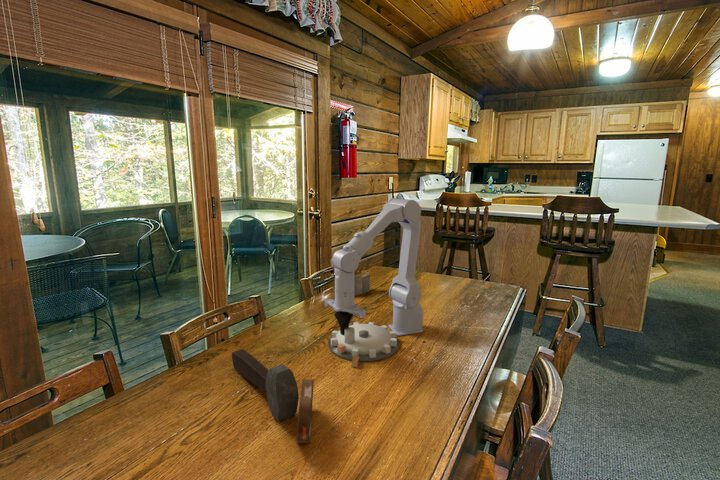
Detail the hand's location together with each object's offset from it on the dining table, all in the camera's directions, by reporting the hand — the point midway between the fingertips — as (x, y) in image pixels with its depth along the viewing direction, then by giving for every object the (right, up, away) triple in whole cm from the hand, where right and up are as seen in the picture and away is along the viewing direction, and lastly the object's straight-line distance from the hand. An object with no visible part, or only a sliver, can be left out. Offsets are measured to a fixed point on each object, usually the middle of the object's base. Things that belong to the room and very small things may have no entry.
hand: (344, 333), depth 111 cm
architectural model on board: (+4, +4, +49) cm, 49 cm away
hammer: (-20, -9, -20) cm, 30 cm away
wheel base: (+6, -4, +4) cm, 8 cm away
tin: (-7, -12, -33) cm, 35 cm away
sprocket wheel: (+6, -4, +4) cm, 8 cm away
